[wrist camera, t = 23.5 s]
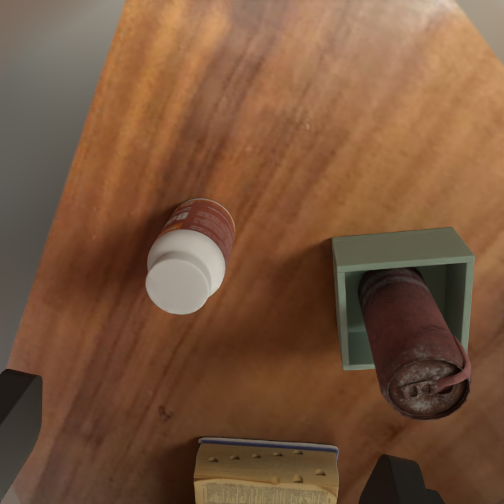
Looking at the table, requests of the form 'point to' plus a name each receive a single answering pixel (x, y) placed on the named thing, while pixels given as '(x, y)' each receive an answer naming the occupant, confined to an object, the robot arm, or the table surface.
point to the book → (265, 472)
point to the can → (412, 345)
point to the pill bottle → (190, 256)
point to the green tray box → (397, 256)
